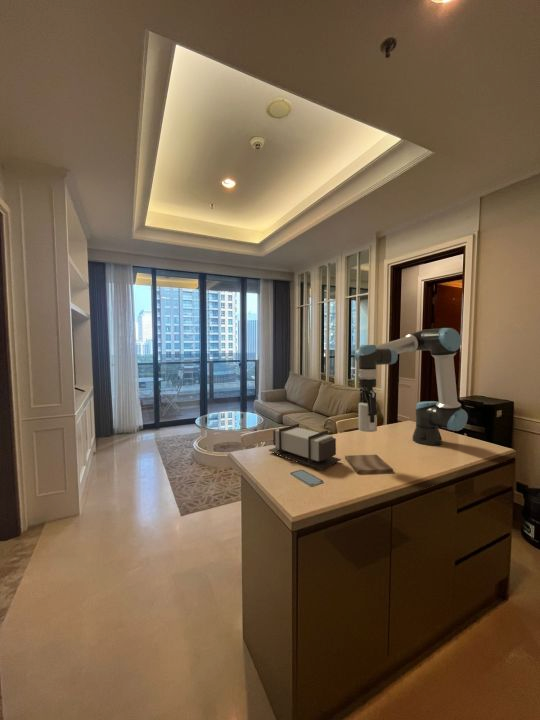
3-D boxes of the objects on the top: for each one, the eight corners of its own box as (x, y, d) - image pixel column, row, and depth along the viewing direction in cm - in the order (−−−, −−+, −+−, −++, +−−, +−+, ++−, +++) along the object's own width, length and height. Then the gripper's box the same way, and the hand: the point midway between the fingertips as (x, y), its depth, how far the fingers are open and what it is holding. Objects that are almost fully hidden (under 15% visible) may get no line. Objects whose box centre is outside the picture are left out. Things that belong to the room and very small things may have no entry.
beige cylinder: (376, 432, 137) (376, 406, 136) (357, 431, 139) (357, 405, 139) (377, 427, 144) (377, 402, 144) (359, 426, 147) (359, 401, 146)
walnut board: (376, 457, 152) (376, 454, 152) (393, 472, 134) (393, 469, 134) (344, 458, 151) (344, 455, 151) (357, 473, 133) (357, 470, 133)
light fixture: (321, 440, 135) (267, 426, 160) (322, 472, 135) (268, 453, 160) (341, 433, 145) (287, 421, 170) (341, 463, 146) (288, 446, 171)
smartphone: (302, 469, 138) (324, 481, 125) (302, 471, 138) (324, 483, 125) (288, 473, 134) (310, 485, 121) (288, 474, 134) (310, 487, 121)
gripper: (352, 376, 151) (352, 421, 152) (368, 380, 130) (368, 433, 131) (367, 375, 151) (367, 421, 152) (385, 380, 130) (385, 432, 131)
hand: (367, 426), depth 142 cm, fingers closed on beige cylinder, 8 cm apart
